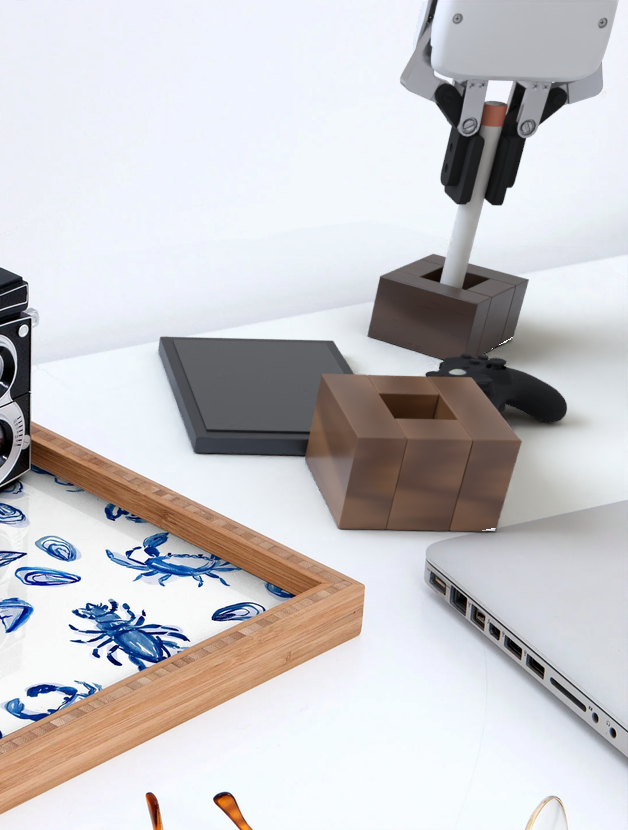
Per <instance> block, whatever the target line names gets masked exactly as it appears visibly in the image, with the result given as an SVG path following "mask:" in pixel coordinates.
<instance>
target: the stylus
mask: <svg viewBox="0 0 628 830" xmlns="http://www.w3.org/2000/svg"><path fill="white" fill-rule="evenodd" d="M507 108H508V105H507V102H503V101H498V100H487V101H486V100H485V102H484V107H483V112H482V117H481V122H480V123H481V129H480V133H479V135H480V136H482V137H483V138H484V140H485V144H484V148H483V152H482V156H481V160H480V164H479V168H478V173H477V177H476V181H475V185H474V189H473V193H472V197H471V200H470V202H467V204H466V205H460V204H458V207H457V211H456V215H455V219H454V222H453V227H452V231H451V235H450V239H449V243H448V247H447V251H446V256H445V257H446V260H445V264H444V268H443V272H442V276H441V280H440V283H442V284H446V285H449V286H453V287H456V288H460V289H462V286H463V282H464V278H465V274H466V270H467V266H468V263H470V258H471V254H472V250H473V246H474V242H475V238H476V234H477V229H478V225H479V222H480V218H481V214H482V209H483V206H484V202H485V199H484V198H485V194H486V190H487V186H488V182H489V178H490V174H491V170H492V166H493V162H494V158H495V154H496V150H497V146H498V142H499V138H500V134H501V130H502V126H503V124H504V120H505V116H506V112H507Z"/></svg>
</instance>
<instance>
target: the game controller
mask: <svg viewBox="0 0 628 830" xmlns="http://www.w3.org/2000/svg"><path fill="white" fill-rule="evenodd" d="M506 364H507V361H506V359H504V358H499V357H493V358H492V357H491V358H489V356H488V355H485V354H483V355H478V357H477V358H473V357H472V356H471V355H469V354H461V357H447V358H445V359H444V360H442V361H441V362H439V365H438V370H429V371H426V372H425V375H424V376H426V377H429V376H432V377H471V378H472V379H473V380H474V381H475V383H476V384H477V385H478V386H479V388H480V389H481V390H482V391H483V393H484V394H485V395H486V397H487V398H488V399H489V400H490V402H491V403H492V404H493V405H494V407H495V408H496V409H497V410H498V412H499V413H500V414H501V413H502V412H504V411H505V410H506V405H507V406H508V407H511V408H513V409H516V410H518V411H520V412H522V413H524V414H526V415H528V416H529V417H531V418H533V419H535V420H537V421H541V422H544V423H547V424H549V423H557V422H559V421H562V420H563V419H564V418H565V416H566V415H567V412H568V404H567V402H566V399H565V397H564V396H563V395H562V394H561V393H560V391H558V390H557V389H556V388H555V387H553V386H552V385H550V384H549V383H547V382H545V381H543V380H542V379H540V378H538V377H536V376H534V375H532V374H529V373H528V372H526V371H523V370H522V371H521V370H518V369H515V368H512V367H509V366H507V365H506Z"/></svg>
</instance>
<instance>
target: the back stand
mask: <svg viewBox="0 0 628 830" xmlns="http://www.w3.org/2000/svg"><path fill="white" fill-rule="evenodd" d="M445 260H446V256H443V255H440V254H436V253H431V254H429V255H427V256H424V257H422V258H420V259H416V260H415V261H413V262H409V263H408V264H405V265H403V266H400V267H398V268H396V269H394V270H391V271H388V272H386V273H384V274H382V275H380V276H379V279H378V284H377V289H376V293H375V299H374V303H373V307H372V311H371V316H370V321H369V326H368V331H367V337H369V338H373V339H376V340H379V341H382V342H386V343H389V344H392V345H394V346H398V347H401V348H405V349H407V350H408V349H409V350H411V351H414V352H417V353H420V354H424V355H427V356H430V357H433V358H437V359H440V360H442V361H444V359H445V358H447V357H461V354H469V355H471V356H472V357H473V358H478V355H482V354H483V355H485V354H487V353H489V352H490V351H489V350H491V349H492V348H495V347H496V346H498V345H499V344H501V343H503V342H504V341H506V340H508V339H510V338H511V337H513V336H514V337H515V333H516V329H517V325H518V322H519V318H520V314H521V311H522V307H523V304H524V300H525V296H526V293H527V289H528V285H529V281H530V280H529V279H528V278H525V277H522V276H518V275H514V274H510V273H506V272H503V271H499V270H495V269H492V268H488V267H484V266H480V265H477V264H473V263H470V262H468V266H467V270H466V274H465V278H464V282H463V286H462V289H460V288H456V287H453V286H449V285H446V284H442V283H440V280H441V276H442V272H443V268H444V264H445ZM514 337H513V338H514ZM498 347H499V346H498ZM496 348H497V347H496ZM496 348H495V349H496ZM488 351H489V352H488ZM491 351H492V350H491ZM486 352H487V353H486ZM484 353H485V354H484Z"/></svg>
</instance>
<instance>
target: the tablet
mask: <svg viewBox="0 0 628 830" xmlns="http://www.w3.org/2000/svg"><path fill="white" fill-rule="evenodd" d="M158 341H159V342H158V349H157V350H158V351H157V352H158V354H159V357H160V359H161V363H162V365H163V368H164V371H165V374H166V376H167V380H168V382H169V385H170V387H171V388H170V389H171V391H172V394H173V396H174V399H175V402H176V404H177V408H178V410H179V413H180V416H181V419H182V421H183V424H184V427H185V430H186V433H187V436H188V438H189V442H190V444H191V447H192V450H193V452H194V453H195V454H231V455H232V454H234V455H272V456H273V455H274V456H275V455H277V456H278V455H279V456H281V455H282V456H306V451H307V445H308V440H309V435H310V430H311V425H312V420H313V415H314V410H315V405H316V400H317V395H318V390H319V384H320V379H321V374H355V373H354V372H353V370H352V369H351V367H350V365H349V364H348V362H347V361H346V359H345V357H344V356H343V354H342V352H341V351H340V349H339V348H338V346H337V344H336V343H335V341H334V340H327V339H326V340H325V339H324V340H323V339H321V340H319V339H283V338H281V339H277V338H241V337H239V338H238V337H197V336H196V337H194V336H189V337H188V336H160V337H159V340H158Z"/></svg>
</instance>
